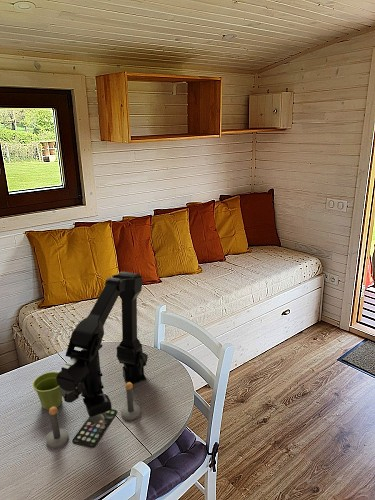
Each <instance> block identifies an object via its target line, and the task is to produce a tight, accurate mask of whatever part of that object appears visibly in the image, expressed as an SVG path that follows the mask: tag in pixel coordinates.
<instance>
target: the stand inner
mask: <svg viewBox="0 0 375 500" xmlns="http://www.w3.org/2000/svg"><path fill="white" fill-rule="evenodd" d="M133 384H134V383H133ZM133 384H132V383H131V382H128V383H127V382H126V383H125V390H126V400H127V402H126V404H125V405H123V406H122V408H121V410H120V415H121V418H122V419H123V420H125V421H134V420H137V419H138V418H140V416H141V415H142V414H141V413H142V410H141V406H140V405H139V404H137V403H134V393H133V391H134V390H133V388H134V385H133Z"/></svg>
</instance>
